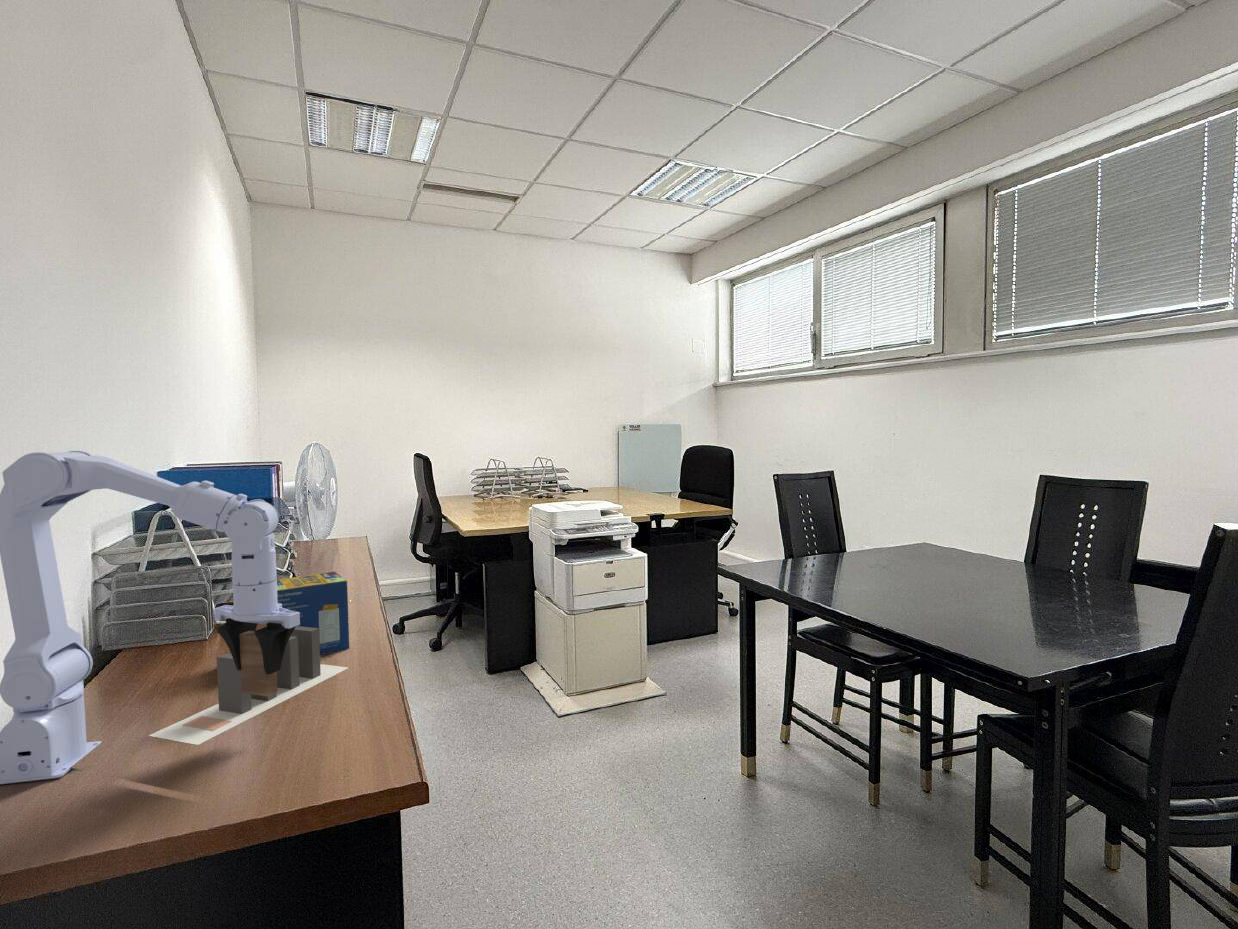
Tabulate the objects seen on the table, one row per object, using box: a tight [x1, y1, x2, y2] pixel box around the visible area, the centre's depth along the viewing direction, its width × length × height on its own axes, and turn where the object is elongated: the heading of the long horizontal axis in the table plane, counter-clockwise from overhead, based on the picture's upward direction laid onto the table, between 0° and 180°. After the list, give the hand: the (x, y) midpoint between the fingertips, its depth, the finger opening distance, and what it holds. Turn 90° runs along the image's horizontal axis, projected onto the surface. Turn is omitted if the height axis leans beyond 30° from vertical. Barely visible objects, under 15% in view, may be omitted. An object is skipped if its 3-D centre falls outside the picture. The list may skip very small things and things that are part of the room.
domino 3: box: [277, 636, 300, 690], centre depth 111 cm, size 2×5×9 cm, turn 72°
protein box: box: [260, 571, 350, 656], centre depth 130 cm, size 10×15×16 cm
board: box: [148, 663, 349, 746], centre depth 107 cm, size 31×10×1 cm, turn 163°
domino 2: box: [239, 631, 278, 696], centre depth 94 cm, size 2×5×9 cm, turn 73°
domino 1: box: [216, 652, 252, 714], centre depth 102 cm, size 2×5×9 cm, turn 73°
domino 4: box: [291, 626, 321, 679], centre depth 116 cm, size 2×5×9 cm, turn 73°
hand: (258, 670), depth 94 cm, fingers closed on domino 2, 5 cm apart
